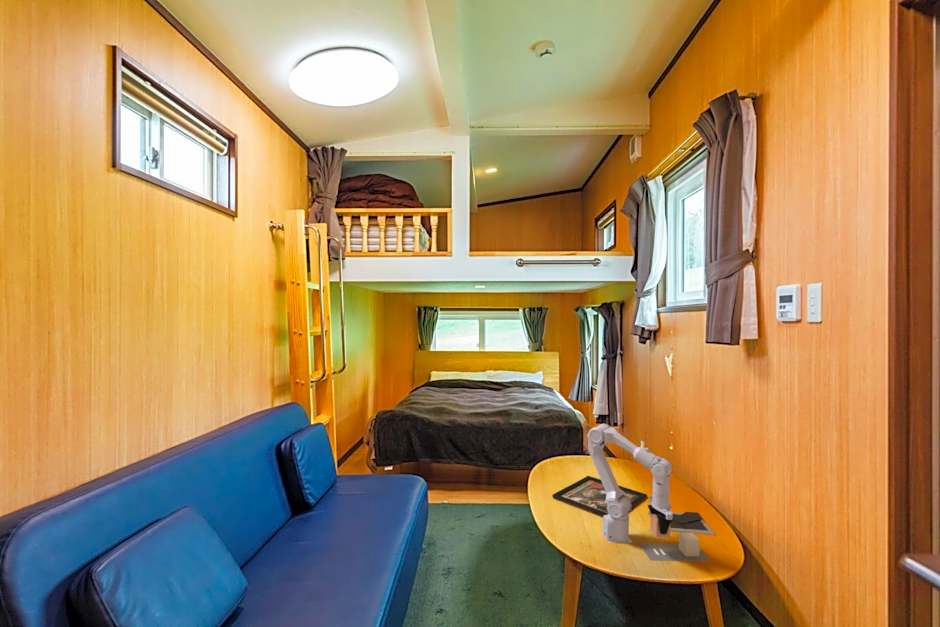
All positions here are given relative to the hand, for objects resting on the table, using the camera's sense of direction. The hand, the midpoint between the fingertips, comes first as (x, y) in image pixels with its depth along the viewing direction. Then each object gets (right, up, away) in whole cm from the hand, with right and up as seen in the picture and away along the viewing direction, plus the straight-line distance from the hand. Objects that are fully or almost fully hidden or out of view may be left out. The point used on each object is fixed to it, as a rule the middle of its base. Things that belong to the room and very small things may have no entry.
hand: (659, 529), depth 158 cm
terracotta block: (0, -1, 0) cm, 1 cm away
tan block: (+11, -9, 0) cm, 14 cm away
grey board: (+5, -9, 0) cm, 10 cm away
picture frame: (+18, -10, +22) cm, 30 cm away
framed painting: (-8, -9, +46) cm, 48 cm away
